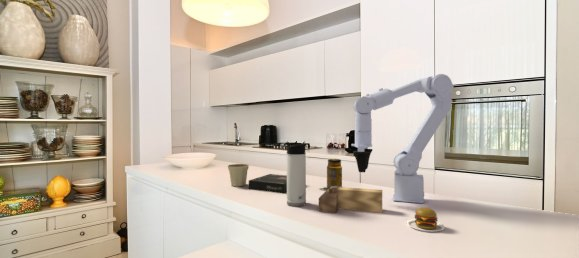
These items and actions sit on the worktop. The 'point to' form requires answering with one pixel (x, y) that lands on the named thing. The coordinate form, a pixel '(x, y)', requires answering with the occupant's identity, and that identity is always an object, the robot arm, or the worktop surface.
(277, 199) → the worktop surface
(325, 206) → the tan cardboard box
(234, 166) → the flower pot
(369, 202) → the rail
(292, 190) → the travel mug
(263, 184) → the portable cd player
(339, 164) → the condiment
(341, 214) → the worktop surface
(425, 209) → the hamburger
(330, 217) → the worktop surface
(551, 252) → the worktop surface
